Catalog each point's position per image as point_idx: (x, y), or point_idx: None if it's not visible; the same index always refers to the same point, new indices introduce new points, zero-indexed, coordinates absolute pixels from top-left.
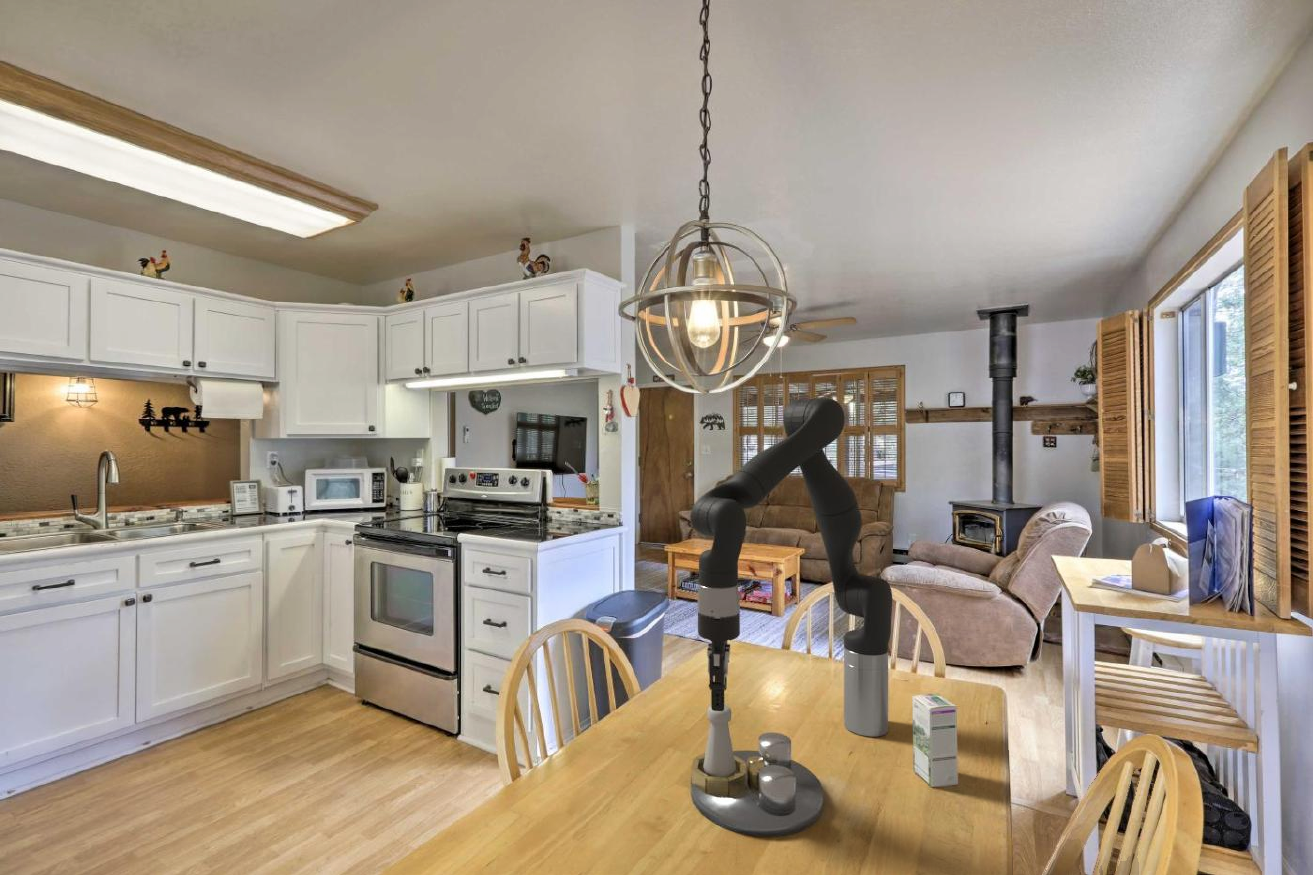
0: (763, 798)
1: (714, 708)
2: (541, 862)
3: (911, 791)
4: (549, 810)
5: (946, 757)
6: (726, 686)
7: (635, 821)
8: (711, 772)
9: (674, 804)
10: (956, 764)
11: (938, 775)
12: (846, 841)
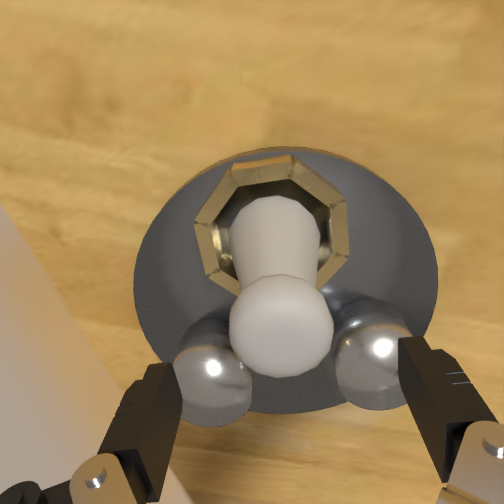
0: (181, 345)
1: (136, 384)
2: None
3: (366, 498)
4: None
5: None
6: (406, 398)
7: (68, 47)
8: (230, 228)
9: (179, 126)
10: None
11: None
12: (196, 425)
